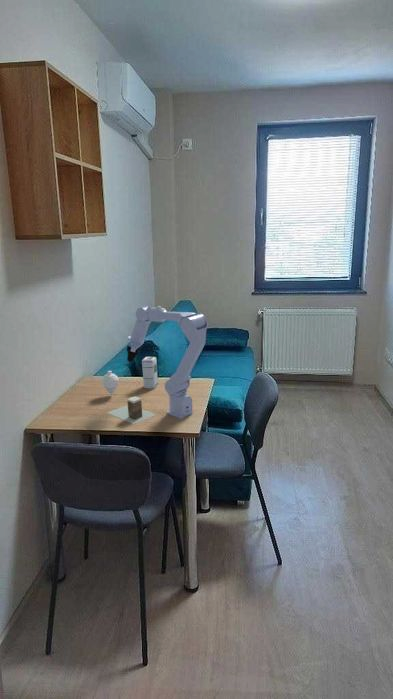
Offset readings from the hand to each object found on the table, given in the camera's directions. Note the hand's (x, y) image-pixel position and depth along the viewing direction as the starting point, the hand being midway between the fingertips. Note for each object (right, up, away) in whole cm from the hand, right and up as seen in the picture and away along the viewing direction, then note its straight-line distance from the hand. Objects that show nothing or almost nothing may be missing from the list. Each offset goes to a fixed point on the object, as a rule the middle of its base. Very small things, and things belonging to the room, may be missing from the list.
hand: (131, 356), depth 201 cm
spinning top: (-11, -19, +13) cm, 25 cm away
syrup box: (+6, -15, +23) cm, 28 cm away
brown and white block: (+4, -25, -13) cm, 28 cm away
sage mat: (+1, -24, -10) cm, 26 cm away
